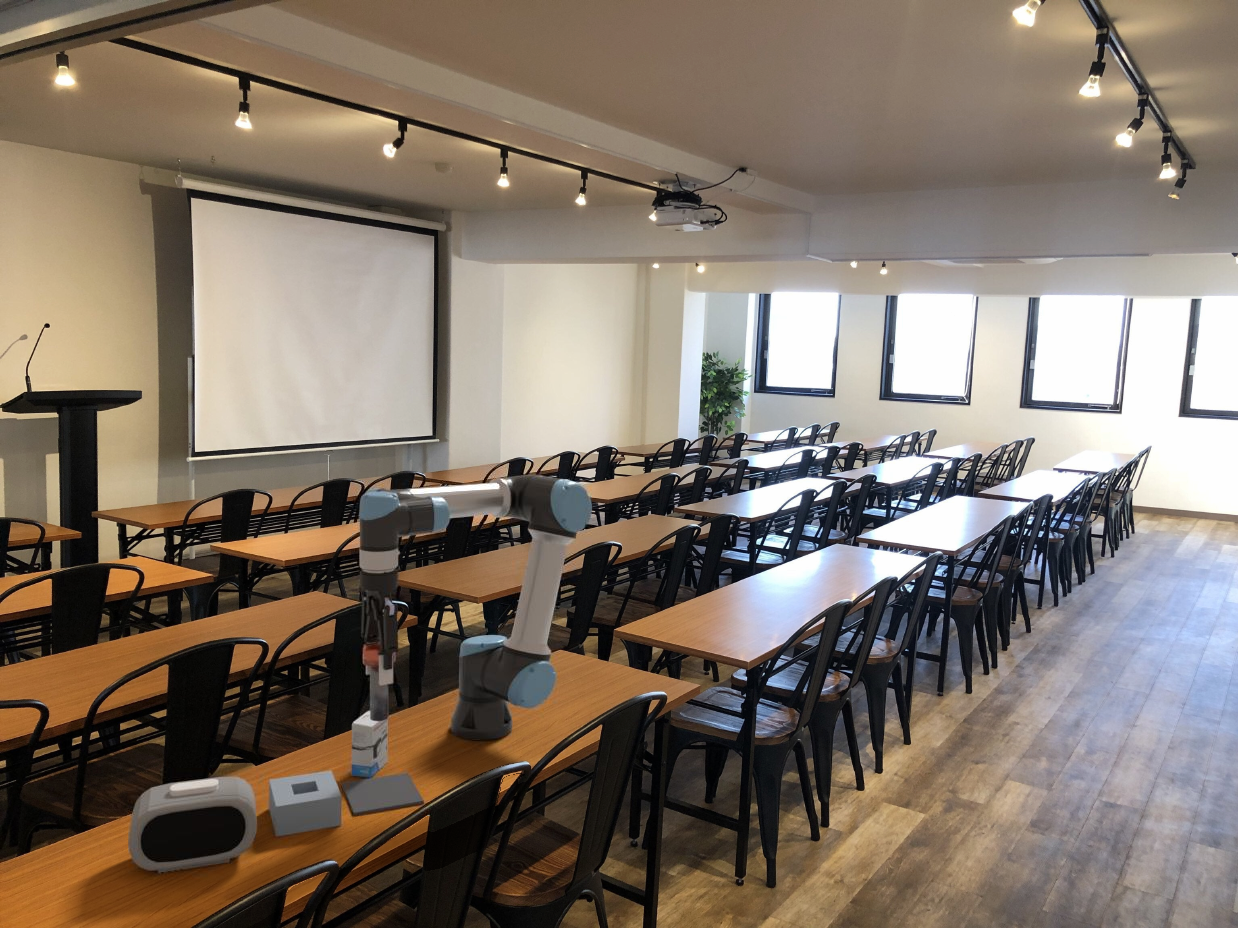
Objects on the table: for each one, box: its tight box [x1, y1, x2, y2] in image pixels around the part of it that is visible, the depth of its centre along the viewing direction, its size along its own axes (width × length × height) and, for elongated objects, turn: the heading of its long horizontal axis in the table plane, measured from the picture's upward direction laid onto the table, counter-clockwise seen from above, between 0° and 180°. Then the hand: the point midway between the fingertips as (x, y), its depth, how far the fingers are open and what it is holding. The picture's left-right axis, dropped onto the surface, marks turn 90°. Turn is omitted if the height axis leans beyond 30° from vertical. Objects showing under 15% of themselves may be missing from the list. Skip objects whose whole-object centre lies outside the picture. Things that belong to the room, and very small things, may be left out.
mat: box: [341, 772, 425, 816], centre depth 194 cm, size 14×14×1 cm
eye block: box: [268, 770, 343, 838], centre depth 183 cm, size 12×12×6 cm
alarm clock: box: [127, 776, 258, 874], centre depth 167 cm, size 21×10×13 cm, turn 114°
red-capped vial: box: [362, 641, 396, 721], centre depth 191 cm, size 6×6×16 cm
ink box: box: [350, 710, 389, 779], centre depth 205 cm, size 8×5×12 cm, turn 168°
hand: (379, 678), depth 191 cm, fingers closed on red-capped vial, 6 cm apart
